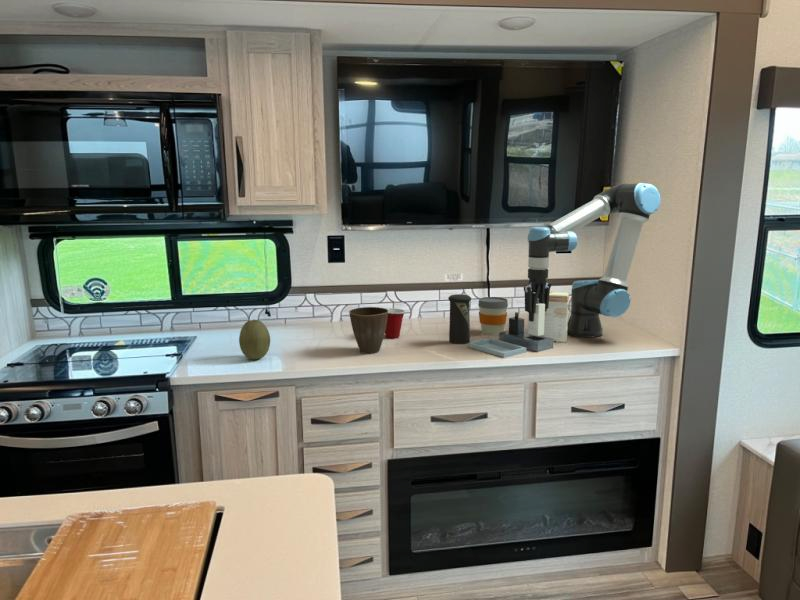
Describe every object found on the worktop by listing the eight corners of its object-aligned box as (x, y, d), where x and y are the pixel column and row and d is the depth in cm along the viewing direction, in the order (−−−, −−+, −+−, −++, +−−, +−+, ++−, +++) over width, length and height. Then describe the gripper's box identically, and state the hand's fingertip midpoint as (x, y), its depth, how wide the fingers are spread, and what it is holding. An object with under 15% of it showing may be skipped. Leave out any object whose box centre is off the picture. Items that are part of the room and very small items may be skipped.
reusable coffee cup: (485, 338, 248) (486, 303, 245) (472, 331, 260) (473, 297, 257) (512, 335, 252) (513, 301, 249) (498, 329, 263) (499, 296, 261)
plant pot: (375, 358, 220) (375, 316, 217) (342, 353, 227) (341, 312, 224) (395, 349, 233) (395, 309, 230) (363, 344, 240) (362, 305, 237)
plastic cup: (409, 339, 248) (408, 310, 246) (384, 341, 245) (383, 312, 242) (401, 333, 258) (400, 306, 256) (377, 335, 255) (376, 307, 252)
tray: (490, 344, 239) (490, 337, 238) (526, 354, 224) (526, 347, 223) (468, 349, 232) (468, 342, 231) (504, 359, 217) (504, 353, 216)
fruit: (276, 355, 225) (274, 317, 222) (262, 364, 215) (260, 323, 212) (249, 353, 228) (247, 315, 225) (234, 362, 217) (231, 322, 215)
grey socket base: (514, 339, 245) (515, 309, 243) (553, 350, 229) (554, 317, 227) (498, 343, 240) (499, 312, 237) (537, 354, 224) (538, 320, 222)
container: (464, 347, 234) (465, 297, 231) (444, 344, 239) (444, 295, 235) (473, 342, 242) (474, 294, 238) (454, 339, 246) (454, 292, 243)
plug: (543, 334, 229) (545, 298, 226) (537, 336, 226) (539, 300, 224) (533, 332, 232) (535, 297, 230) (527, 333, 230) (528, 298, 228)
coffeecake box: (567, 338, 246) (569, 292, 243) (565, 342, 240) (568, 295, 236) (530, 335, 251) (532, 290, 248) (528, 340, 245) (529, 293, 241)
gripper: (544, 265, 232) (542, 323, 237) (515, 269, 223) (514, 329, 227) (560, 267, 227) (557, 327, 231) (531, 271, 217) (529, 333, 221)
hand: (536, 328), depth 229 cm, fingers closed on plug, 3 cm apart
